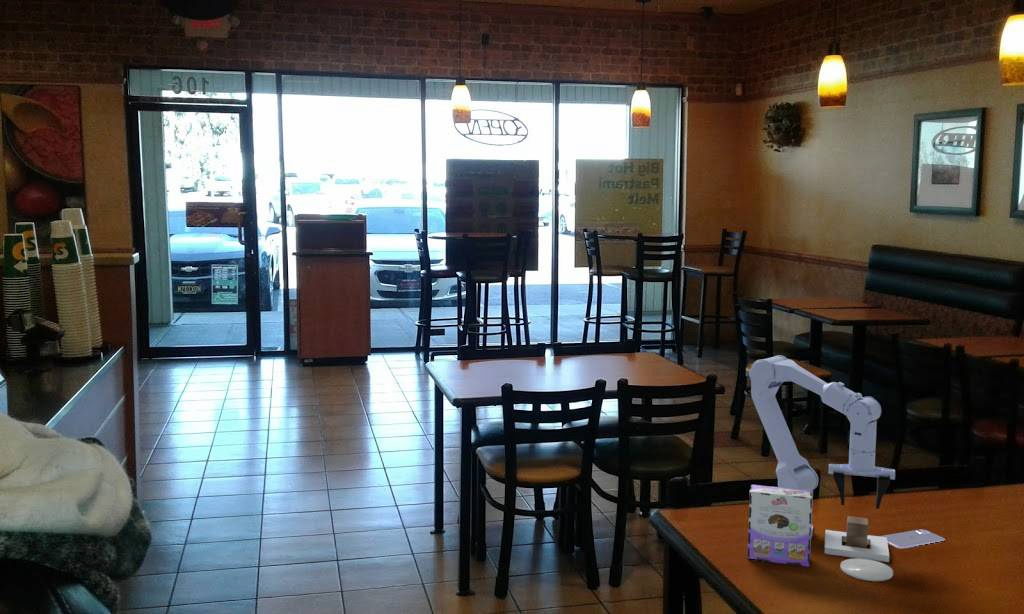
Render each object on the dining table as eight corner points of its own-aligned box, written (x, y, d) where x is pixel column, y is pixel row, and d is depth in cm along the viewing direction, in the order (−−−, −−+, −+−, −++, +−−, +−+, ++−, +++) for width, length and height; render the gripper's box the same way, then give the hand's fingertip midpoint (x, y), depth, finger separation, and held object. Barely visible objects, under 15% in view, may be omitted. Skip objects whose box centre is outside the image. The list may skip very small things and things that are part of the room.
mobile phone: (876, 535, 223) (923, 527, 228) (876, 539, 223) (923, 531, 228) (899, 546, 216) (947, 538, 221) (899, 550, 216) (947, 542, 221)
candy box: (809, 558, 210) (813, 489, 208) (809, 568, 205) (813, 497, 203) (748, 550, 215) (751, 482, 213) (746, 559, 209) (749, 490, 207)
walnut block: (845, 550, 215) (847, 522, 214) (845, 543, 219) (847, 516, 218) (866, 553, 213) (868, 524, 213) (865, 546, 218) (867, 518, 217)
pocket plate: (824, 553, 213) (824, 547, 213) (825, 535, 224) (825, 529, 224) (888, 562, 208) (889, 555, 208) (886, 543, 220) (886, 537, 219)
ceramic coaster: (840, 576, 200) (840, 574, 200) (840, 558, 210) (840, 555, 210) (894, 584, 196) (894, 581, 196) (891, 565, 207) (891, 562, 207)
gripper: (829, 451, 212) (827, 507, 213) (897, 456, 207) (894, 514, 209) (829, 443, 218) (827, 498, 220) (894, 448, 214) (892, 504, 215)
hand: (859, 505), depth 215 cm, fingers open, 7 cm apart
